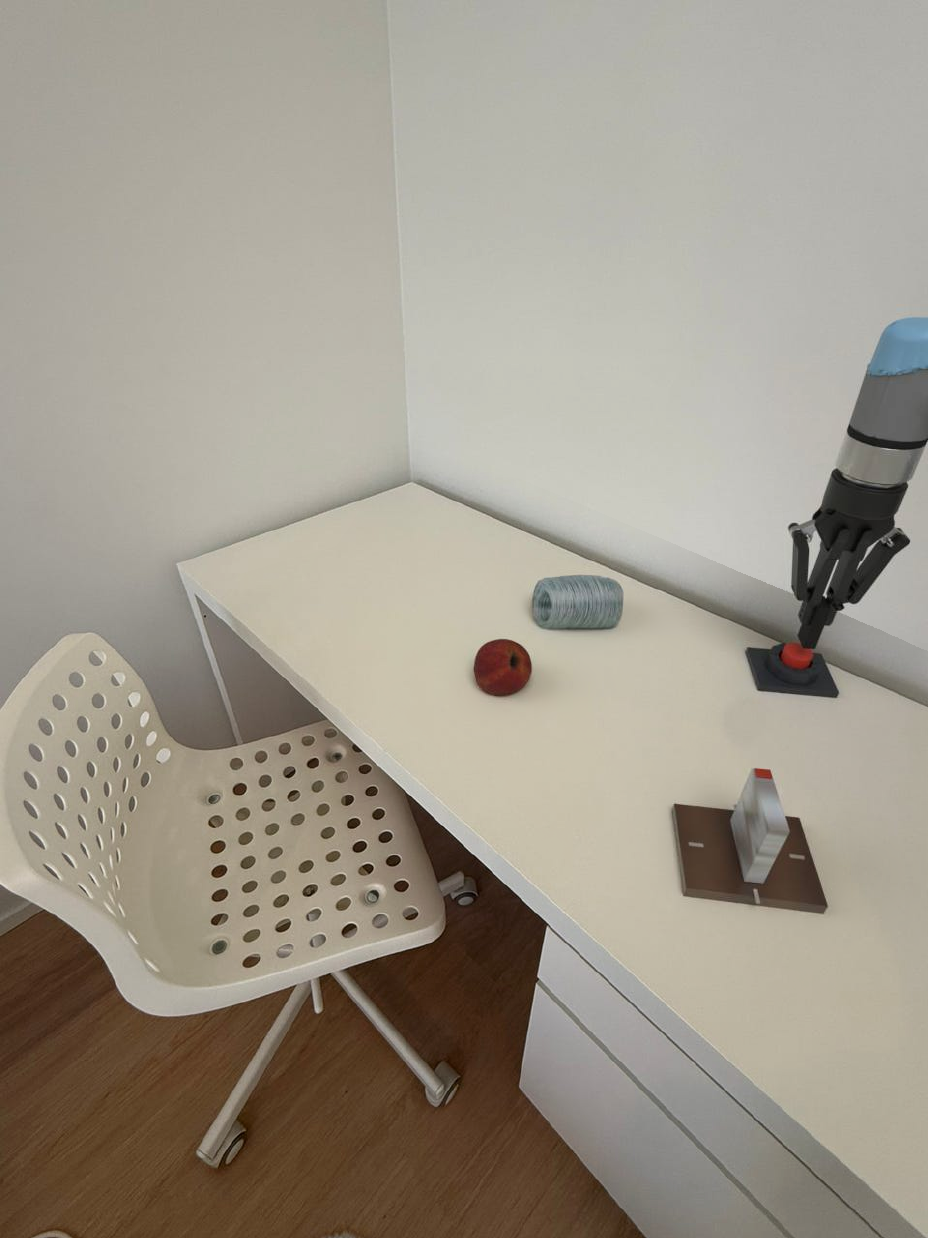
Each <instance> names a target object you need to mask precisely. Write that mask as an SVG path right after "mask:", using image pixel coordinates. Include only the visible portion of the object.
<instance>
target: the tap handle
mask: <svg viewBox="0 0 928 1238" xmlns="http://www.w3.org/2000/svg"><path fill="white" fill-rule="evenodd" d="M735 805H736V808H735V810H734V809H733V810H734V813H733V815H732V818H731V820H730V822H731V827H732V831H733V835H734V840H735V844H736V848H737V853H738V857H739V861H740V865H741V870H742V874H743V878H744V881H745V882H752V883H761V884H763V883H764V881H765V879H766V877H767V875H768V873H769V871H770V869H771V867H772V865H773V863H774V861H775V859H776V857H777V856H778V854H779V852H780V850H781V848H782V846H783V844H784V842H785V840H786V838H787V836H788V834H789V832H790V831H789V827H788V824H787V821H786V818H785V816H786V814H785V812H784V809H783V805H782V802H781V798H780V796H779V793H778V789H777V786H776V783H775V780H774V777H773V773H772V770H771V769H768V768H759V767H754V768H753V767H751V769H750V771H749V774H748V776H747V779H746V781H745V783H744V786H743V788H742V791H741V793H740V796H739V798H738V801H737V802H736V804H735Z"/></svg>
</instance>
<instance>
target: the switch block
mask: <svg viewBox="0 0 928 1238" xmlns="http://www.w3.org/2000/svg"><path fill="white" fill-rule="evenodd" d="M786 644H787V643H784V642H782V643H778V644H775V645H772V647H771V648H762V647H753V646H752V647H750V646H747V647H746V649H745V657H746V660H747V662H748V665H749V668H750V671H751V675H752V678H753V681H754V685H755V687H756V691H758V692H767V693H774V694H787V695H797V696H808V697H819V698H830V699H838V696H839V694H840V691H839V689H838V687H837V684H836V682H835V680H834V678H833V676H832V674H831V671H830V669H829V667H828V665H827V663H826V661H825V658H824V656H823V654H822V653H821V652H813V658H812V660H811V662H810V665H809V666H808V667H807V668H806V669H795V668H792V667H790V666H787V665H786V664H785V663H783V662H782V661H781V654H782V651H783V649H784V646H785V645H786Z"/></svg>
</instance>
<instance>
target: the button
mask: <svg viewBox="0 0 928 1238" xmlns="http://www.w3.org/2000/svg"><path fill="white" fill-rule="evenodd" d="M813 653H814V652H813V650H812V649H806V648H803V647H802V645H801V643H800V642H788V643H786V645H785V646H784V649H783V651H782V654H781V661H782V662H783V663H785V664H786V665H787V666H790V667H792V668H795V669H806V668H807V667H808V666H809V665H810V662H811V660H812V658H813Z"/></svg>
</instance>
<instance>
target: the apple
mask: <svg viewBox="0 0 928 1238" xmlns="http://www.w3.org/2000/svg"><path fill="white" fill-rule="evenodd" d="M532 672H533V664H532V659H531V656H530V654H529V652H528V651H527V649H526V648H525V647H524V646H523V645H522V644H520V643H519V642H517V641H514V640H512V639H507V638H497V639H493V640H489V641H487V642H485V643H484V644H483V645H481V647H480V648H479V649H478V651H477V652H476V655H475V658H474V662H473V675H474V680H475V682H476V684H477V685H478V687H479V688H480V689H481V690H482V691H483V692H485V693H486V694H488V695H492V696H496V697H507V696H511V695H513V694H515V693H517V692H519V691H520V690H521V689H523V688H524V687H525V686H526V685H527V683H528V682H529V680H530V678H531V676H532Z"/></svg>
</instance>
